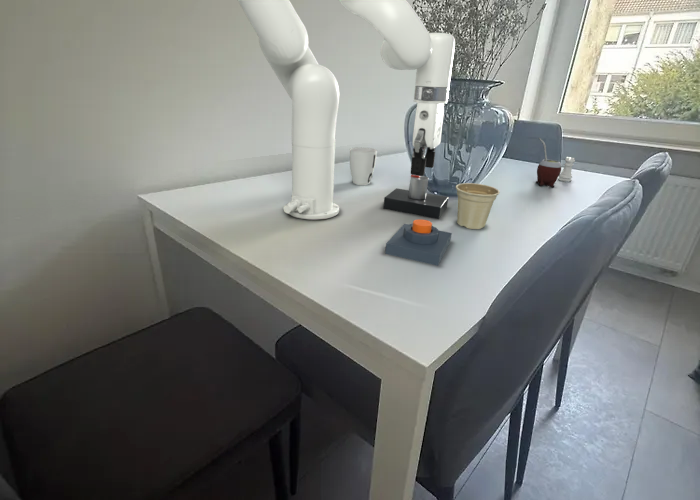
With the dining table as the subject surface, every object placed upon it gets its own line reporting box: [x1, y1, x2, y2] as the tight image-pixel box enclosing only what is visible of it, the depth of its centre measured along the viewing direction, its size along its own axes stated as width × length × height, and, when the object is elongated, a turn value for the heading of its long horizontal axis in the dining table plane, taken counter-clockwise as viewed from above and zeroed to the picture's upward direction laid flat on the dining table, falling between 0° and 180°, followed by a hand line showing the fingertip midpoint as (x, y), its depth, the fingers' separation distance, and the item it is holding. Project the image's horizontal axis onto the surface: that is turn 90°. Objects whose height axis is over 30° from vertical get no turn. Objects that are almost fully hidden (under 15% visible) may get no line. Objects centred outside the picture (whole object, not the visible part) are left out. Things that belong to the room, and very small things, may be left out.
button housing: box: [384, 222, 453, 267], centre depth 75 cm, size 12×10×4 cm
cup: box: [349, 146, 378, 186], centre depth 117 cm, size 8×8×10 cm
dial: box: [408, 174, 430, 200], centre depth 97 cm, size 4×4×5 cm
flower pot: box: [455, 182, 501, 230], centre depth 88 cm, size 9×9×9 cm
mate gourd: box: [535, 137, 562, 188], centre depth 127 cm, size 8×8×15 cm
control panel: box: [383, 187, 449, 220], centre depth 98 cm, size 14×10×3 cm
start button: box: [412, 218, 433, 233], centre depth 74 cm, size 4×4×2 cm
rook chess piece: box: [557, 156, 576, 183], centre depth 136 cm, size 4×4×8 cm
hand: (422, 170), depth 95 cm, fingers open, 9 cm apart
